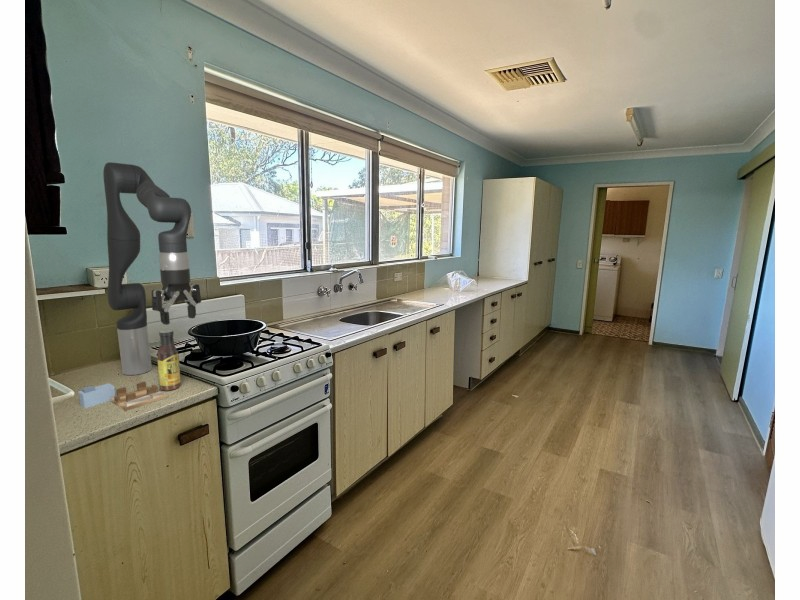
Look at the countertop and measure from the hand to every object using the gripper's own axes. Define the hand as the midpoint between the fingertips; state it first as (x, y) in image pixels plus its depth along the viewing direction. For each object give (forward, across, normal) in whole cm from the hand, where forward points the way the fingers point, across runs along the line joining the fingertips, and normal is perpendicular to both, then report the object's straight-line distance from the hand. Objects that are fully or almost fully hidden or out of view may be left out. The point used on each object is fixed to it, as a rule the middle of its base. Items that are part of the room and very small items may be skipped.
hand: (179, 320), depth 117 cm
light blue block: (+27, +12, -24) cm, 38 cm away
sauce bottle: (+27, -5, -14) cm, 31 cm away
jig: (+26, +5, -16) cm, 31 cm away
